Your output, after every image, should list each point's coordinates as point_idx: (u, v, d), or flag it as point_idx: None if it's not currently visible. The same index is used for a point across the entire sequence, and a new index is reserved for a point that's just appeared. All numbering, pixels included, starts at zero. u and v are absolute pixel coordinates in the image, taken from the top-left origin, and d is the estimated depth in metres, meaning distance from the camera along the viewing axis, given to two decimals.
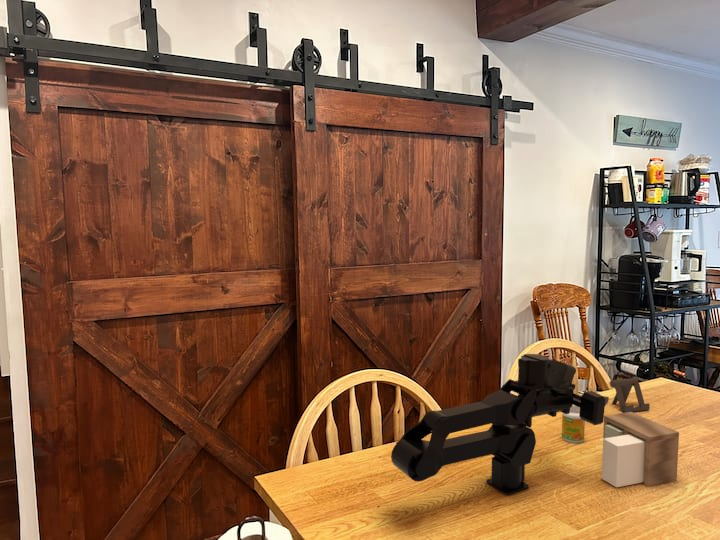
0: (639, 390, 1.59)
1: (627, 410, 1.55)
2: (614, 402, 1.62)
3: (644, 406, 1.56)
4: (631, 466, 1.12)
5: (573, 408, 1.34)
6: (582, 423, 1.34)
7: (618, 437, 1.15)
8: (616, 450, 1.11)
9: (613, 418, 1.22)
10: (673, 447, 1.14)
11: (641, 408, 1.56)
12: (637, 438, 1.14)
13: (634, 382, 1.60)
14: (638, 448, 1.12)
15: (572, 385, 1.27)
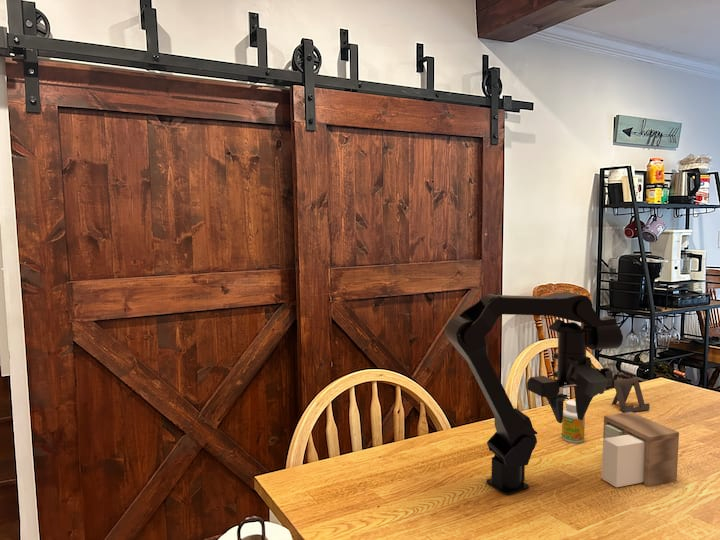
0: (639, 390, 1.59)
1: (627, 410, 1.55)
2: (614, 402, 1.62)
3: (644, 406, 1.56)
4: (631, 466, 1.12)
5: (573, 408, 1.34)
6: (582, 423, 1.34)
7: (618, 437, 1.15)
8: (616, 450, 1.11)
9: (613, 418, 1.22)
10: (673, 447, 1.14)
11: (641, 408, 1.56)
12: (637, 438, 1.14)
13: (634, 382, 1.60)
14: (638, 448, 1.12)
15: (580, 415, 1.15)
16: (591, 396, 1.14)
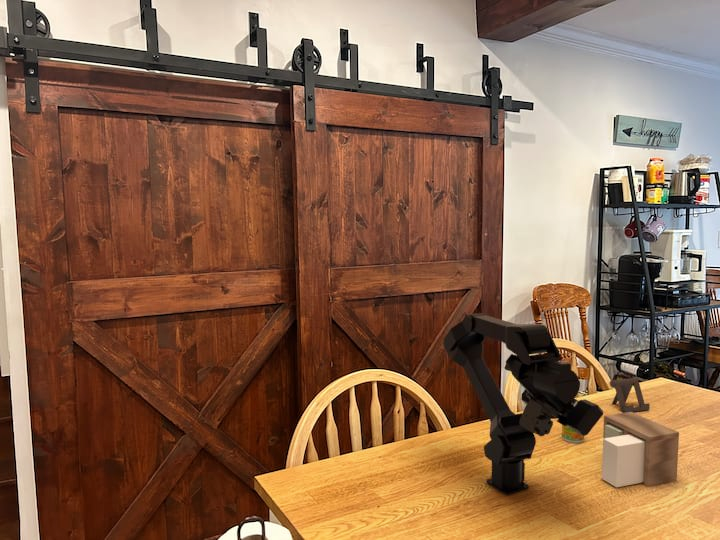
0: (639, 390, 1.59)
1: (627, 410, 1.55)
2: (614, 402, 1.62)
3: (644, 406, 1.56)
4: (631, 466, 1.12)
5: None
6: None
7: (618, 437, 1.15)
8: (616, 450, 1.11)
9: (613, 418, 1.22)
10: (673, 447, 1.14)
11: (641, 408, 1.56)
12: (637, 438, 1.14)
13: (634, 382, 1.60)
14: (638, 448, 1.12)
15: None
16: None
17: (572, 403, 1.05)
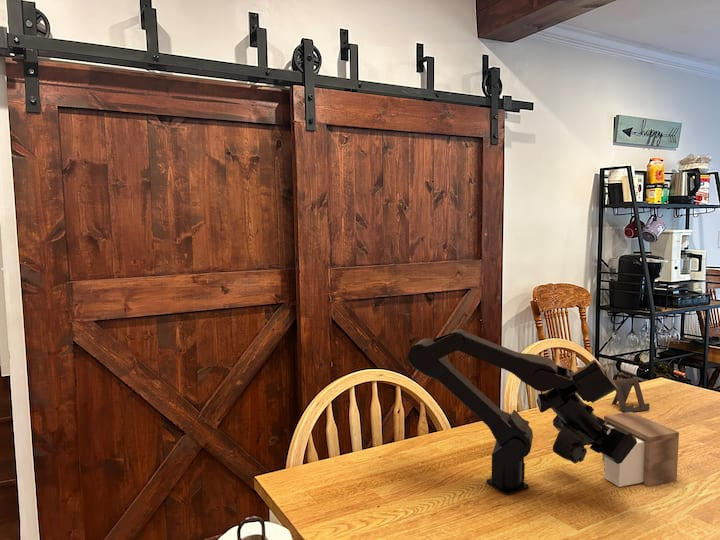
0: (639, 390, 1.59)
1: (627, 410, 1.55)
2: (614, 402, 1.62)
3: (644, 406, 1.56)
4: (634, 466, 1.12)
5: None
6: None
7: None
8: None
9: (613, 418, 1.22)
10: (673, 447, 1.14)
11: (641, 408, 1.56)
12: (640, 438, 1.15)
13: (634, 382, 1.60)
14: (641, 447, 1.13)
15: None
16: None
17: (605, 431, 1.07)
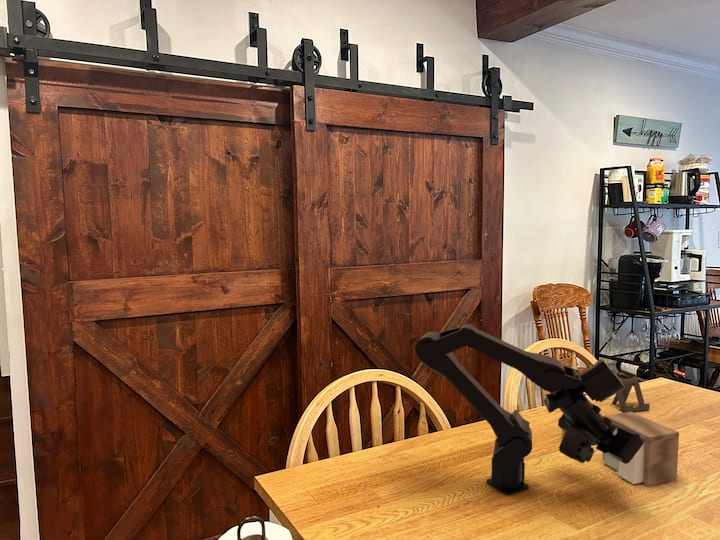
0: (639, 390, 1.59)
1: (627, 410, 1.55)
2: (614, 402, 1.62)
3: (644, 406, 1.56)
4: None
5: None
6: None
7: None
8: None
9: (613, 418, 1.22)
10: (673, 447, 1.14)
11: (641, 408, 1.56)
12: None
13: (634, 382, 1.60)
14: None
15: None
16: None
17: (611, 431, 1.08)
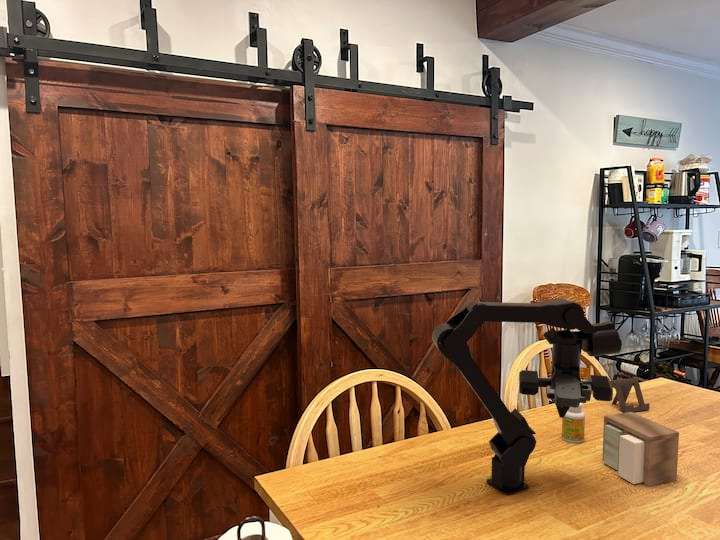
0: (639, 390, 1.59)
1: (627, 410, 1.55)
2: (614, 402, 1.62)
3: (644, 406, 1.56)
4: None
5: (573, 408, 1.34)
6: (582, 423, 1.34)
7: None
8: (633, 447, 1.12)
9: (613, 418, 1.22)
10: (673, 447, 1.14)
11: (641, 408, 1.56)
12: None
13: (634, 382, 1.60)
14: None
15: None
16: None
17: None
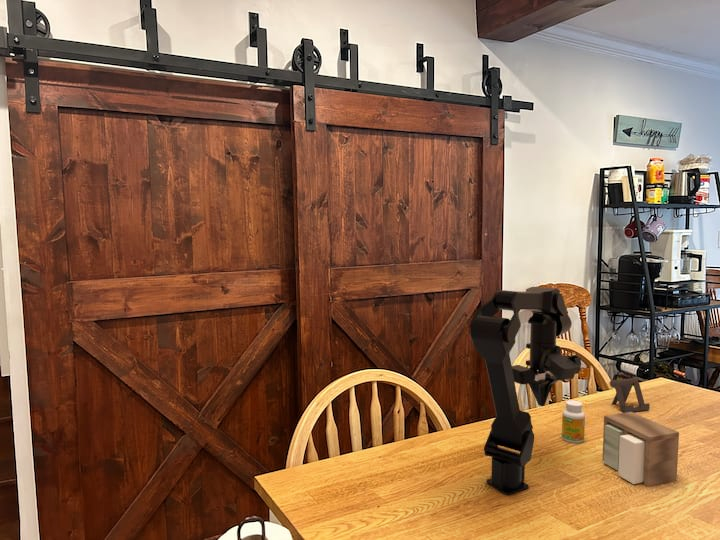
0: (639, 390, 1.59)
1: (627, 410, 1.55)
2: (614, 402, 1.62)
3: (644, 406, 1.56)
4: None
5: (573, 408, 1.34)
6: (582, 423, 1.34)
7: None
8: (633, 447, 1.12)
9: (613, 418, 1.22)
10: (673, 447, 1.14)
11: (641, 408, 1.56)
12: None
13: (634, 382, 1.60)
14: None
15: None
16: (552, 383, 1.23)
17: None
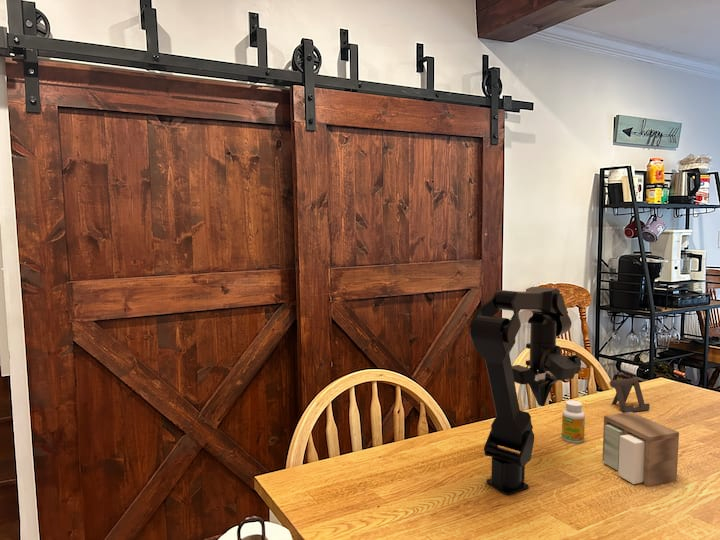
0: (639, 390, 1.59)
1: (627, 410, 1.55)
2: (614, 402, 1.62)
3: (644, 406, 1.56)
4: None
5: (573, 408, 1.34)
6: (582, 423, 1.34)
7: None
8: (633, 447, 1.12)
9: (613, 418, 1.22)
10: (673, 447, 1.14)
11: (641, 408, 1.56)
12: None
13: (634, 382, 1.60)
14: None
15: None
16: (552, 383, 1.23)
17: None
